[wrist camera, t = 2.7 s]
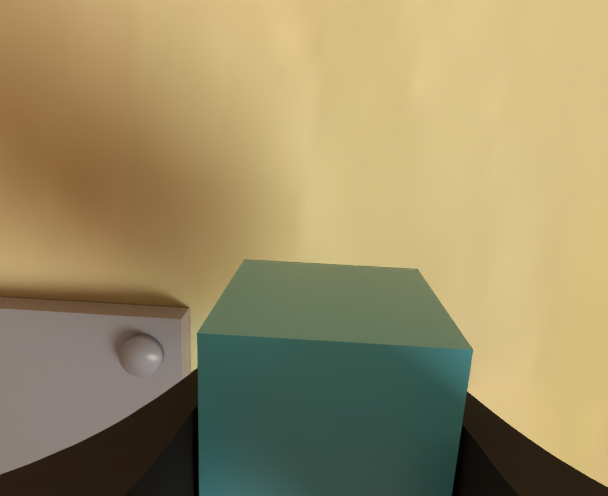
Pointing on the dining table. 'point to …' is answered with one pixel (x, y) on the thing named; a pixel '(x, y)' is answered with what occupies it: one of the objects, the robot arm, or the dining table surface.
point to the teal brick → (329, 384)
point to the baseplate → (81, 369)
